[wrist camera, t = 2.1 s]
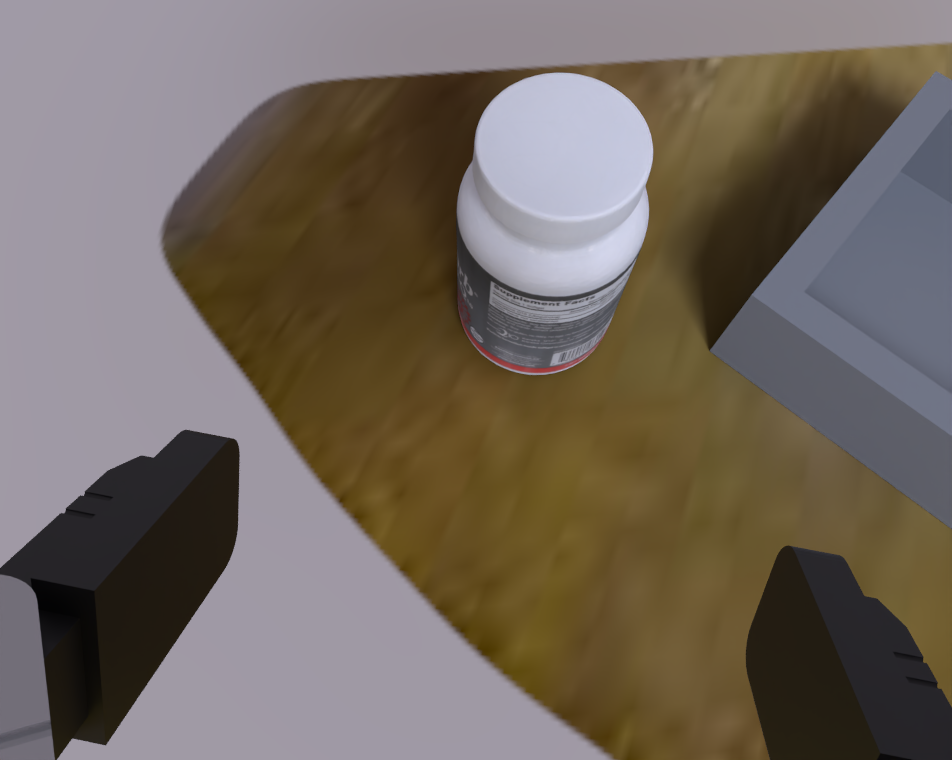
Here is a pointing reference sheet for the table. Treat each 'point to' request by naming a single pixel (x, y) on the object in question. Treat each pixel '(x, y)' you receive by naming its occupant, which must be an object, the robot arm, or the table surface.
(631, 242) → the pill bottle
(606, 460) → the table surface
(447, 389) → the table surface
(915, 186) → the bin
